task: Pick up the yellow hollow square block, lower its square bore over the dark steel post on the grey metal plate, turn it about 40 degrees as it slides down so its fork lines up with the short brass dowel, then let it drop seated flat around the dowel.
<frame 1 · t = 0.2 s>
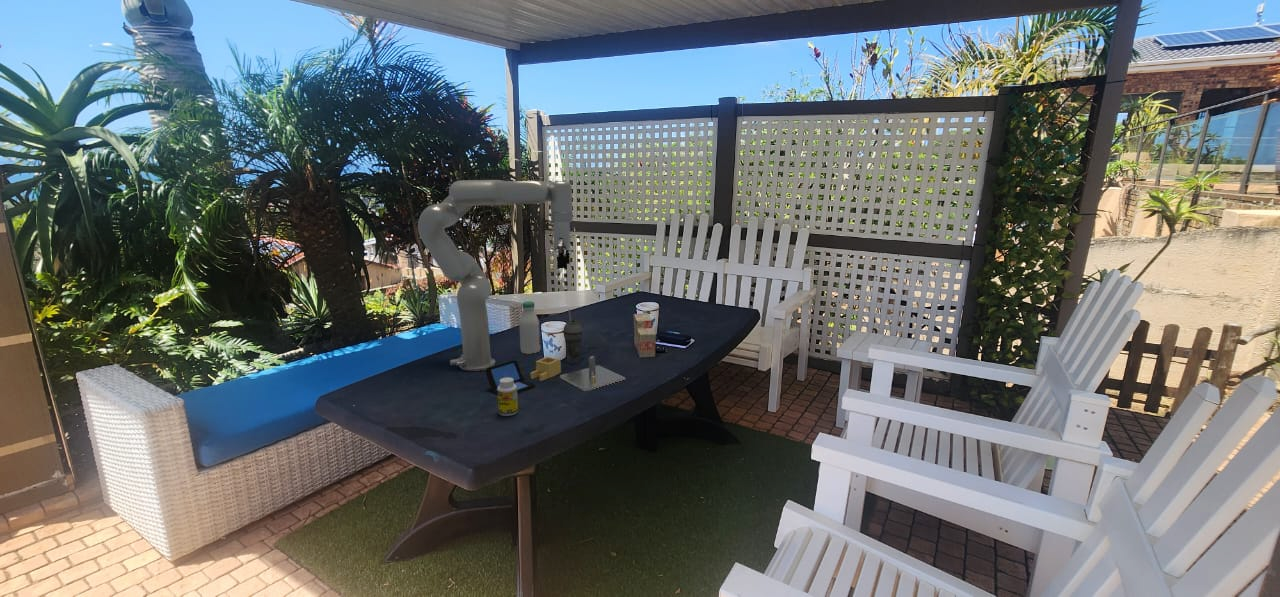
hand: (563, 265, 189), 37 cm above the table, tool pointing down, fingers open, 9 cm apart
supplement bottle: (508, 413, 155), on the table
beverage cup: (573, 361, 199), on the table
dowel: (593, 384, 176), resting on post base
milk bottle: (530, 351, 211), on the table
yellow hollow square block: (548, 373, 186), on the table
post base: (592, 379, 181), on the table
stack of blocks: (644, 349, 214), on the table
handheld game console: (511, 389, 174), on the table
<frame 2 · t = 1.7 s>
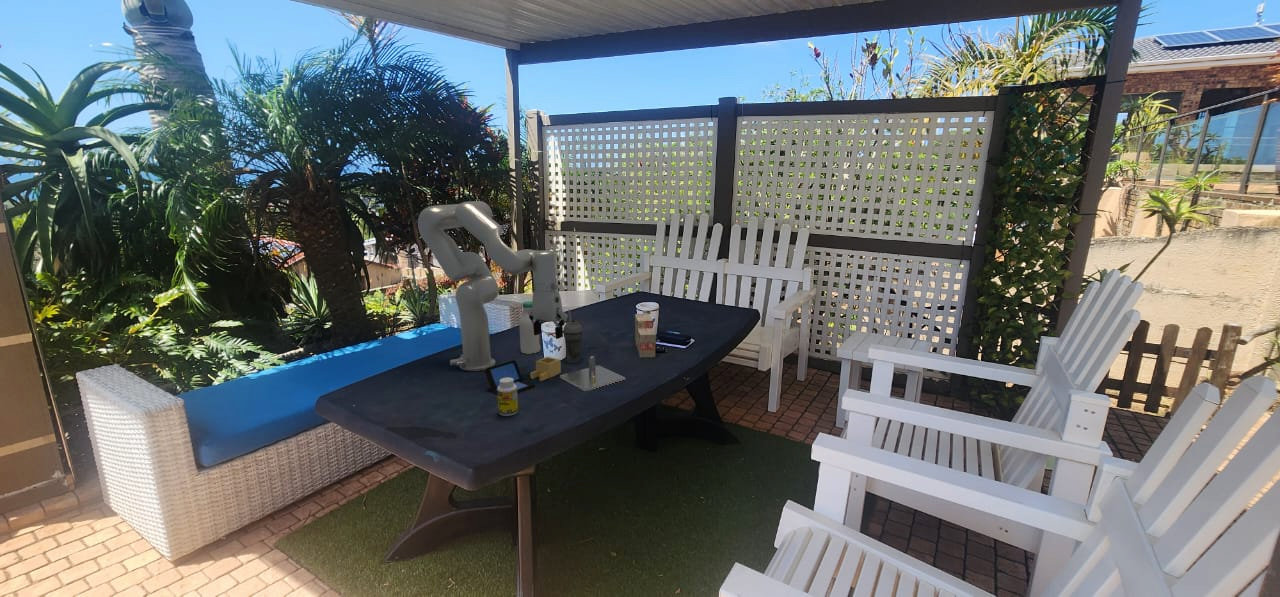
hand: (548, 336, 183), 14 cm above the table, tool pointing down, fingers open, 9 cm apart
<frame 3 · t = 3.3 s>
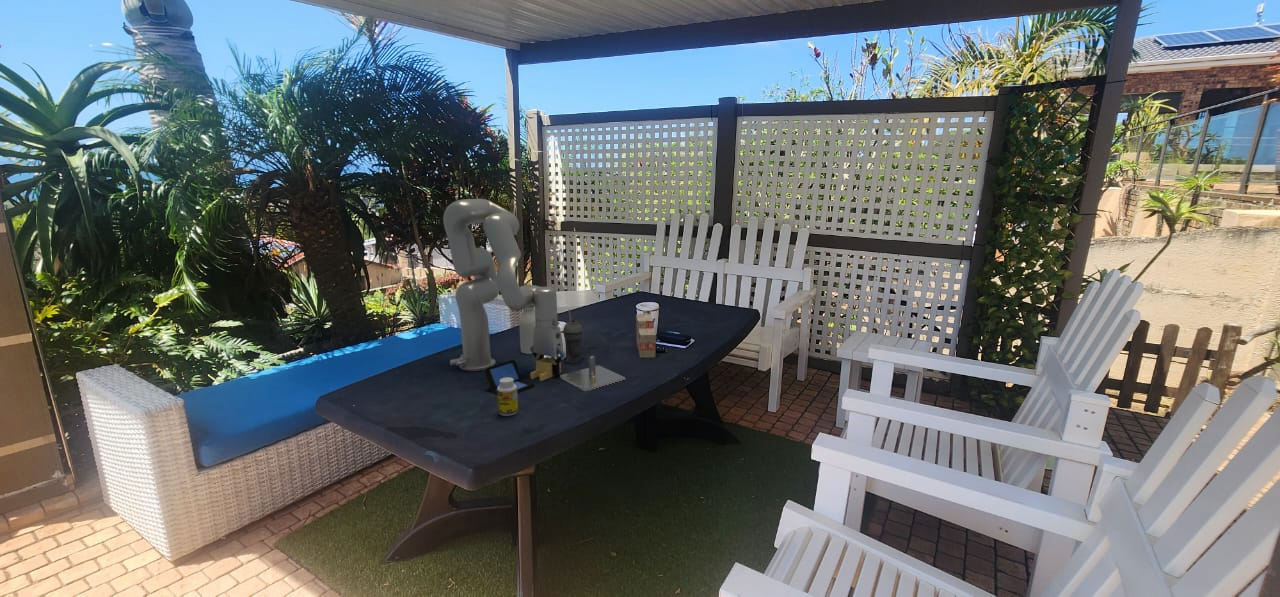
hand: (548, 372, 186), 1 cm above the table, tool pointing down, fingers closed on yellow hollow square block, 6 cm apart
yellow hollow square block: (548, 373, 186), on the table, touching gripper
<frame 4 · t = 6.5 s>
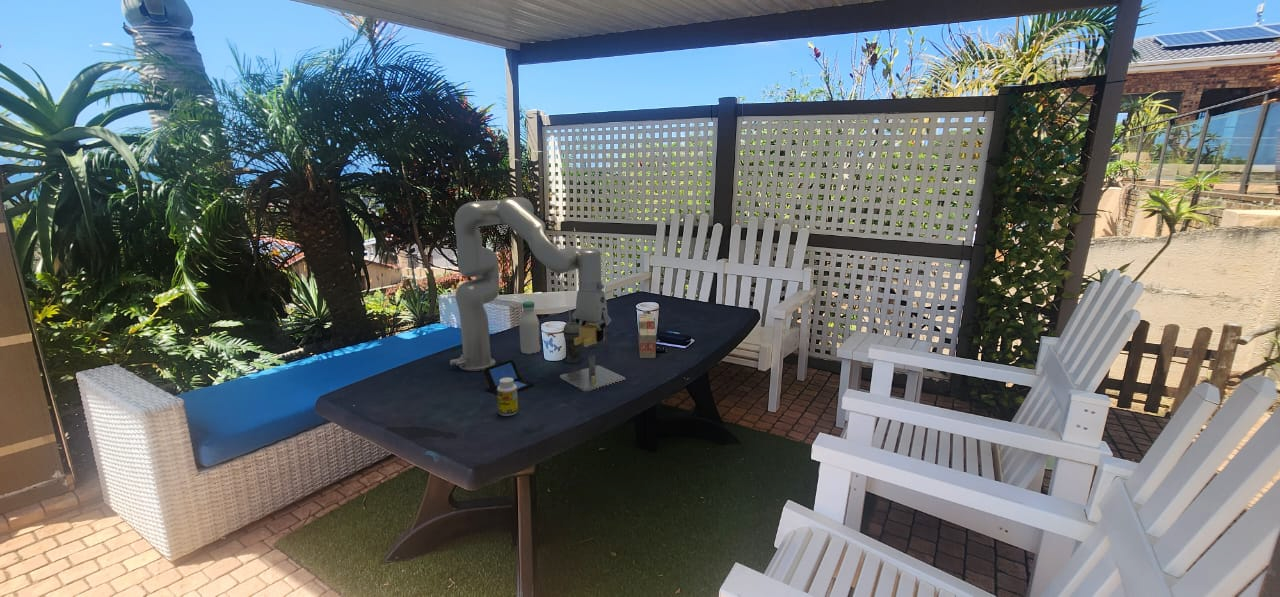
hand: (592, 339, 178), 14 cm above the table, tool pointing down, fingers closed on yellow hollow square block, 6 cm apart
yellow hollow square block: (592, 340, 178), point 14 cm above the table, touching gripper
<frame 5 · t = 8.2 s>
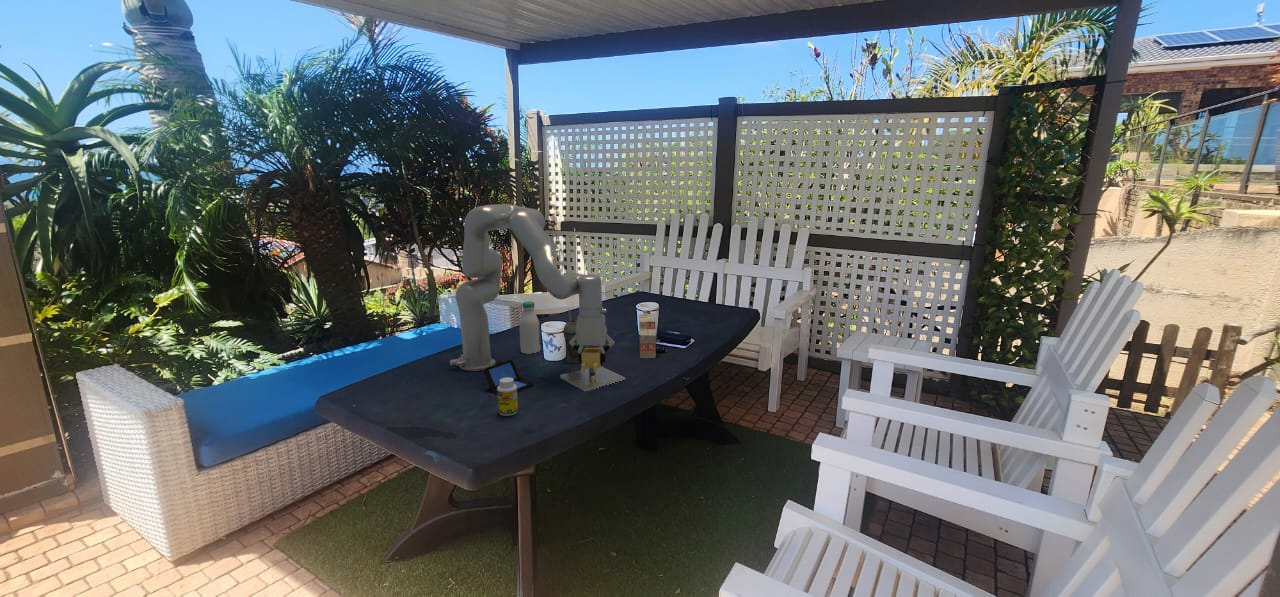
hand: (592, 363, 180), 6 cm above the table, tool pointing down, fingers closed on yellow hollow square block, 6 cm apart
yellow hollow square block: (592, 364, 180), point 5 cm above the table, touching gripper
when the fingers open (3 cm above the table, at t = 9.5 s): yellow hollow square block drops 2 cm, resting on post base.
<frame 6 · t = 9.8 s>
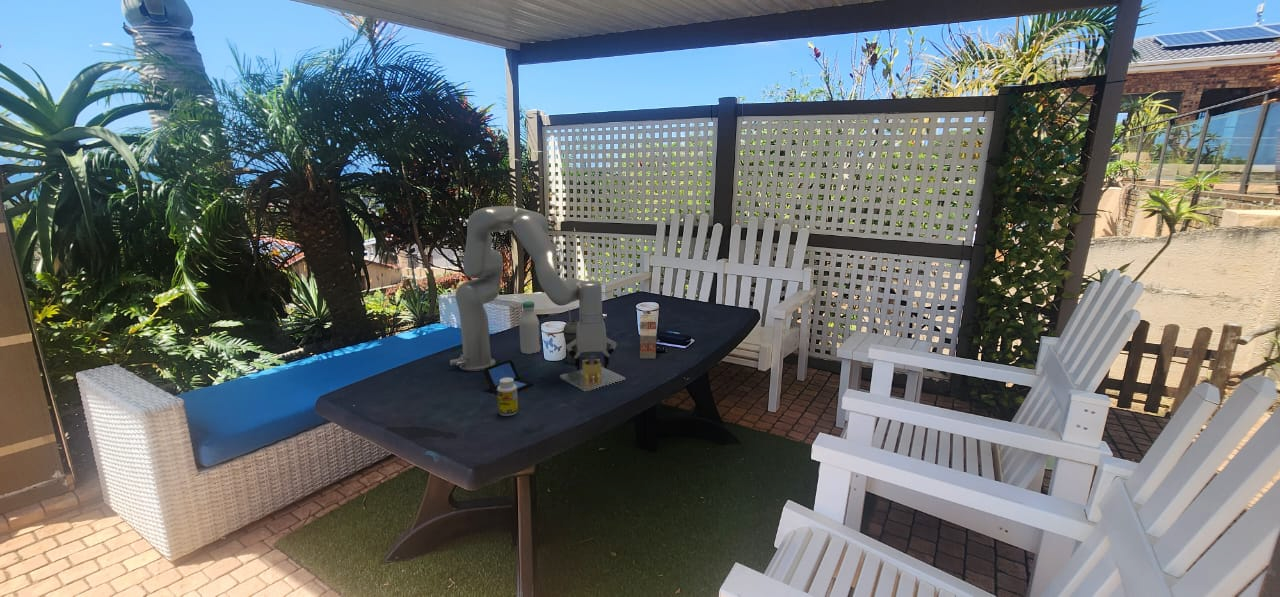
hand: (592, 367, 180), 4 cm above the table, tool pointing down, fingers open, 8 cm apart
yellow hollow square block: (592, 376, 181), point 1 cm above the table, touching post base
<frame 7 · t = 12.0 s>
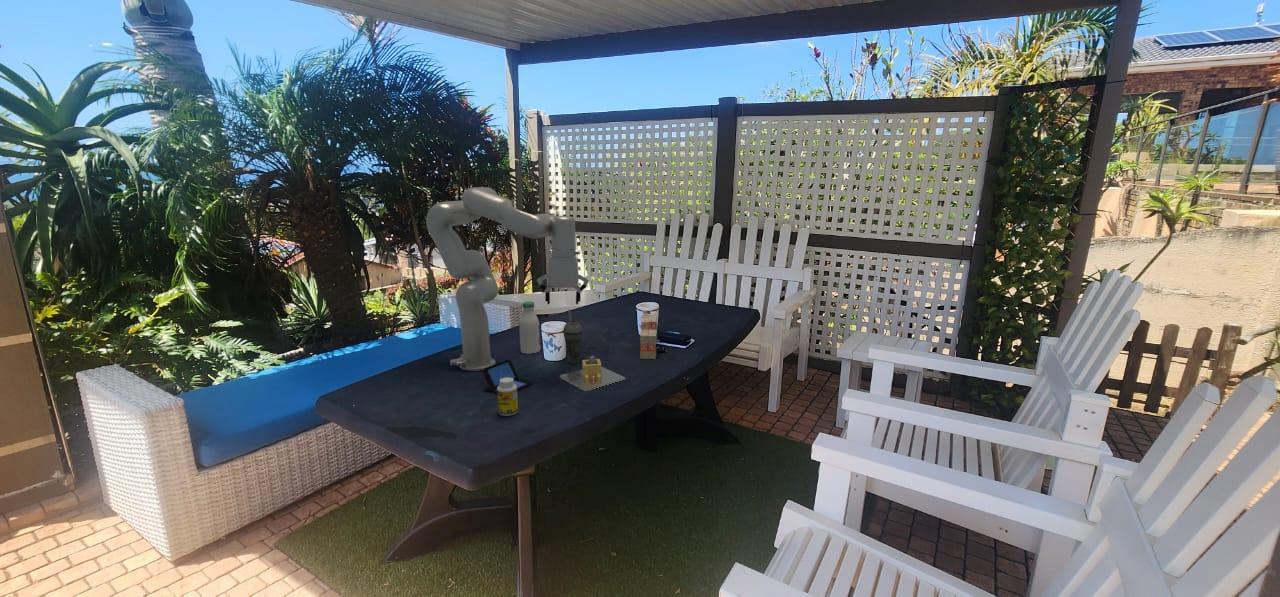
hand: (562, 303, 180), 25 cm above the table, tool pointing down, fingers open, 9 cm apart
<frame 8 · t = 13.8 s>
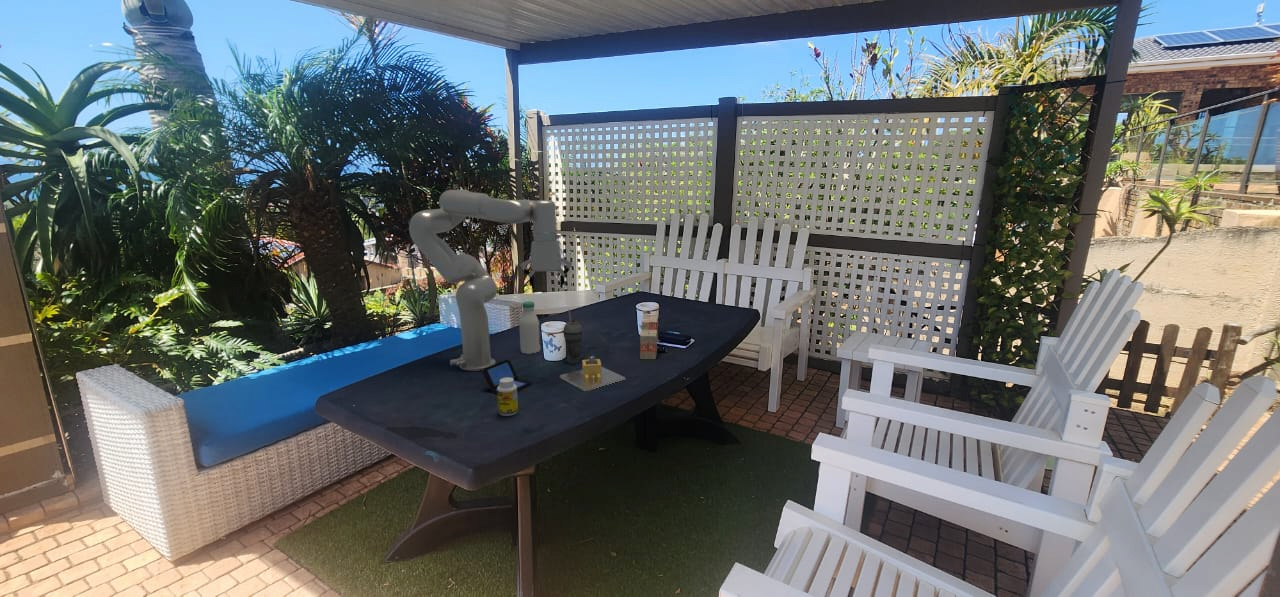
hand: (547, 287, 182), 30 cm above the table, tool pointing down, fingers open, 9 cm apart
at the end: yellow hollow square block 0.2 cm from the post base (horizontally); yellow hollow square block point 1.0 cm above the table; yellow hollow square block tilted 0° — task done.
